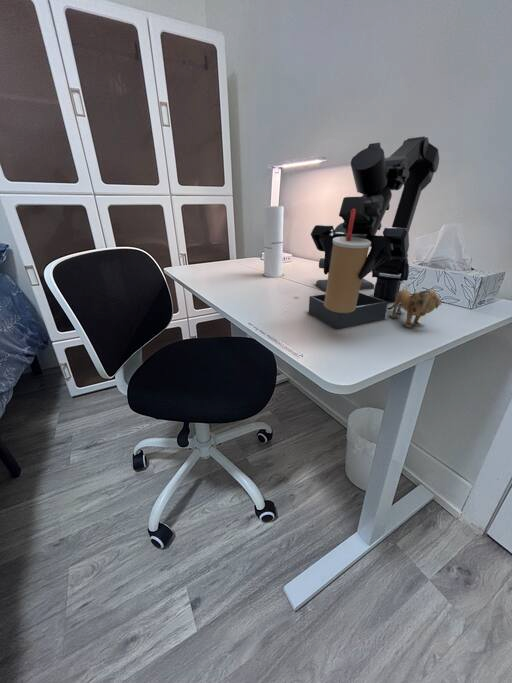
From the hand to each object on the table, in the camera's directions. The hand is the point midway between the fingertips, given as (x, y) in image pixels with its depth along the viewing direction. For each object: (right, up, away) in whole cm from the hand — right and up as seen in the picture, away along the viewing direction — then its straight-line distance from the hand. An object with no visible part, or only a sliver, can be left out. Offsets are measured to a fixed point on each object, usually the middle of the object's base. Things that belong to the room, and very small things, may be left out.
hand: (341, 275), depth 57 cm
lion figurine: (+20, -8, +13) cm, 25 cm away
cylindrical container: (-10, +13, +59) cm, 62 cm away
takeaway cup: (+1, -5, +5) cm, 7 cm away
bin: (+6, -6, +17) cm, 19 cm away
